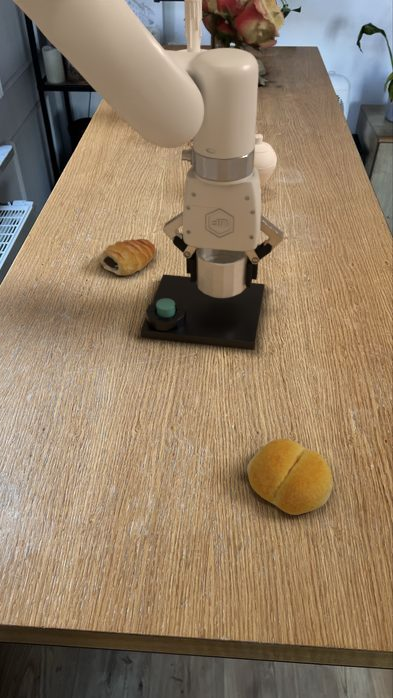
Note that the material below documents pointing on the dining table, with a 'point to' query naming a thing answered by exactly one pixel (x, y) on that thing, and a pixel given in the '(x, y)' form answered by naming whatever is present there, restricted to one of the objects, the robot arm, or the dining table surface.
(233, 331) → the scale
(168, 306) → the button
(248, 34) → the rose bouquet
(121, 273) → the pastry
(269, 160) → the spinning top
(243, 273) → the beige cup
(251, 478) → the bread roll
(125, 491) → the dining table surface
